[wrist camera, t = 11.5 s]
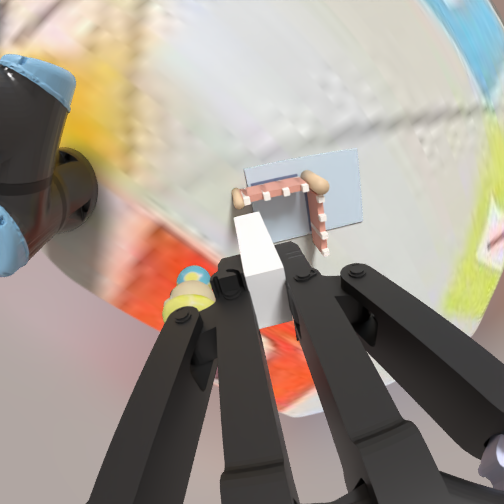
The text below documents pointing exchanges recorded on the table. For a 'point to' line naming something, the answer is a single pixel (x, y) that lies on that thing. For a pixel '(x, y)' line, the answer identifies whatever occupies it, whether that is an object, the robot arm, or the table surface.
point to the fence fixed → (280, 188)
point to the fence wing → (318, 221)
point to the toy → (190, 291)
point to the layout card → (296, 205)
